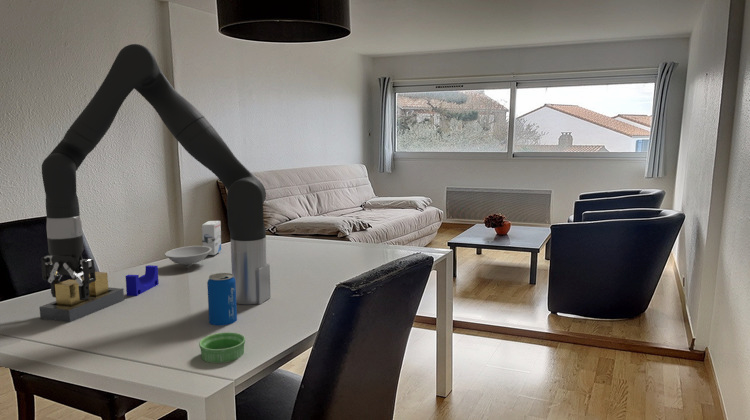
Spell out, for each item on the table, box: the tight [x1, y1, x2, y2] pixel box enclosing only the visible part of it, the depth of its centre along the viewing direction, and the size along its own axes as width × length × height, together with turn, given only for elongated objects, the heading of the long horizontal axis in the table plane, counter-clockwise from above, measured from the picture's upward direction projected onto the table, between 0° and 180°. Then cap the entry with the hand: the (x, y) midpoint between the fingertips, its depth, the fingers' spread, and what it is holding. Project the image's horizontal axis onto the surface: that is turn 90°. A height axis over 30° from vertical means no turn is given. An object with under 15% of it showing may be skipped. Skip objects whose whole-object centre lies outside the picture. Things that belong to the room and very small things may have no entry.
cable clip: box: [125, 265, 159, 297], centre depth 154 cm, size 12×4×6 cm, turn 174°
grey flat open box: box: [39, 286, 125, 323], centre depth 137 cm, size 9×18×4 cm, turn 164°
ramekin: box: [198, 331, 246, 364], centre depth 107 cm, size 9×9×4 cm
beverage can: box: [206, 272, 238, 327], centre depth 127 cm, size 6×6×12 cm
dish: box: [164, 245, 212, 267], centre depth 183 cm, size 18×14×5 cm
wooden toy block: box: [55, 279, 85, 307], centre depth 133 cm, size 4×4×8 cm
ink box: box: [201, 220, 222, 256], centre depth 201 cm, size 9×5×12 cm, turn 179°
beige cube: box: [80, 271, 109, 297], centre depth 140 cm, size 4×4×8 cm
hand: (70, 298), depth 133 cm, fingers open, 8 cm apart
